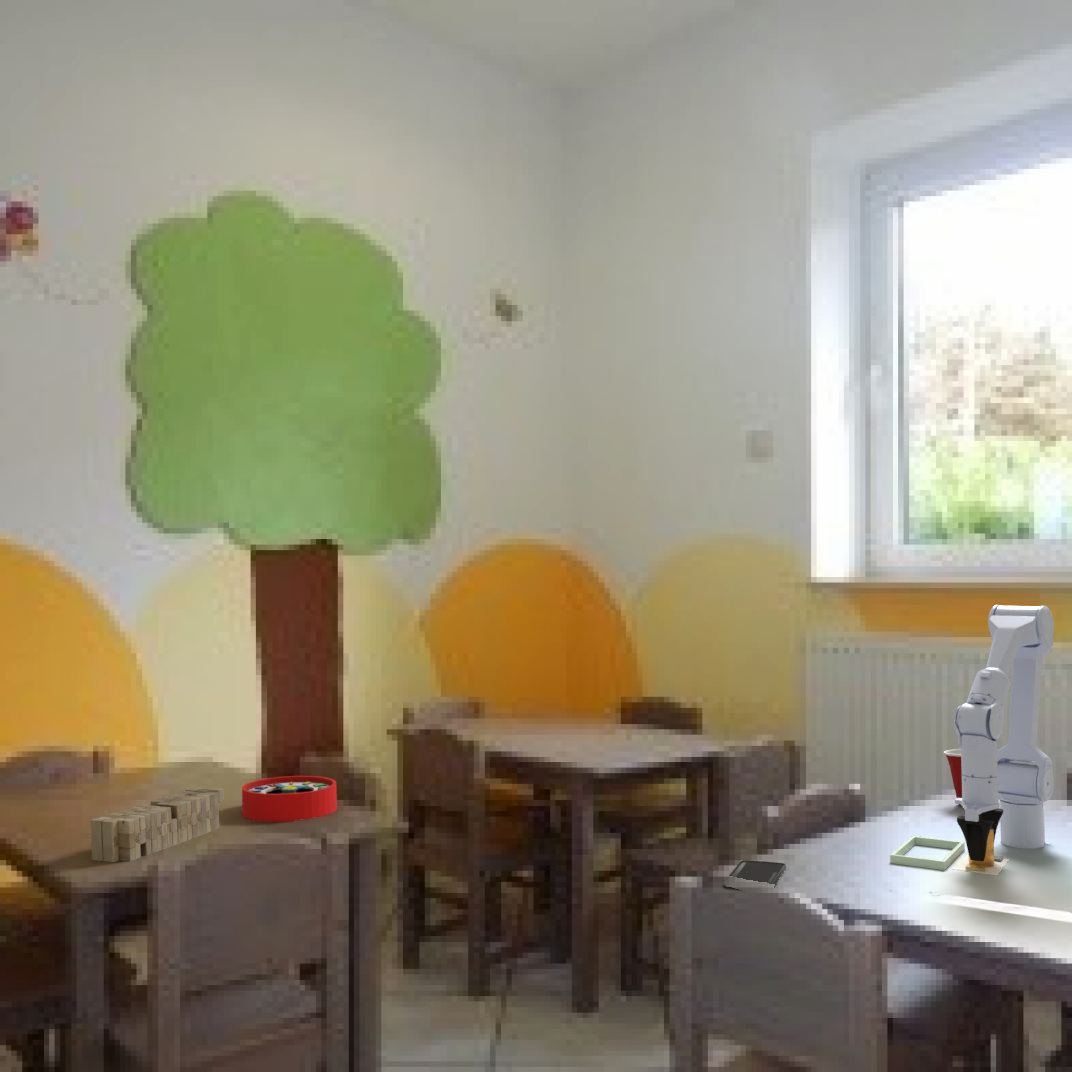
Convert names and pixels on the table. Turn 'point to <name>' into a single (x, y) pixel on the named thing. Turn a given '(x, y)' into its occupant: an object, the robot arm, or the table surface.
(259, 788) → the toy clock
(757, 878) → the phone
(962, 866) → the cream rectangular pad
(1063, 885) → the table surface
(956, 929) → the table surface
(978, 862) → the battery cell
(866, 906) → the table surface
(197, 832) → the block tower
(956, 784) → the plastic cup
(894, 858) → the pale green rectangular frame
